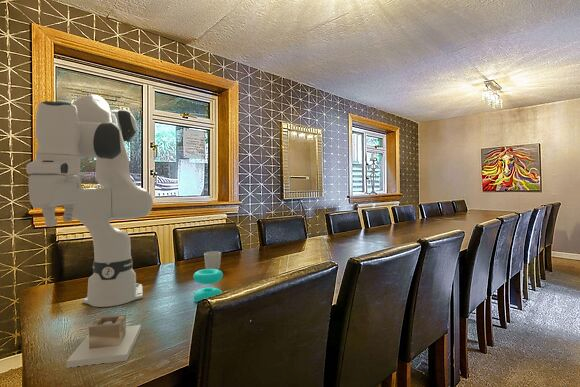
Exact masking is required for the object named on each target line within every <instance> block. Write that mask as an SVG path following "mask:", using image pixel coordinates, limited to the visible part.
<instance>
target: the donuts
mask: <svg viewBox="0 0 580 387" xmlns="http://www.w3.org/2000/svg"><path fill="white" fill-rule="evenodd" d="M223 276H224V273H223V271H222V270H221V269H206V268H204V269H199V270H197V271H196V272H194V273H193V276H192V278H193V280H194V282H196V283H198V284H202V285H212V284H215V283H218V282H220V281H221V280H222V279H223ZM222 292H223V291H222V290H221V289H220V288H219V287H212V286H210V287H203V288H199V289H197V290H196V291H195V292H194V293H193V300H194V301H195V302H196V303H197V302H198V301H199V300H201V299H204V298H207V297H211V296H214V295H217V294H220V293H222Z"/></svg>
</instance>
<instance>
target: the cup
mask: <svg viewBox="0 0 580 387" xmlns="http://www.w3.org/2000/svg"><path fill="white" fill-rule="evenodd" d="M203 257H204V267H205V268H204V269H218V270H220V267H221V259H222V252H221V251H216V250H214V251H213V250H211V251H206V252H204V253H203Z"/></svg>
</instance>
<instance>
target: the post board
mask: <svg viewBox="0 0 580 387" xmlns="http://www.w3.org/2000/svg"><path fill="white" fill-rule="evenodd" d="M111 323H112V321H107V322H104V323H103V324H111ZM141 331H142V325H141V324H136V325H135V324H134V325H126V334H125V336H124V338H123V340H122V341H121V343H120V345H119V346H110V347H101V348H92V349H89V333H88V334H87V335H86V336H85V338H84V339H83V340H82V341H81V343H80V344H79V345H78V346H77V347H76V349H75V350H74V352H73V353H71V355H69V357H68V358H67V360H66V363H65V364H66V366H65V368H66V369H69V368H70V367H72V368H77V366H80V367H84V366H83V365H88V366H92V365H91V364H96V365H102V364H101V363H105V364H112V363H120V362H127V361H128V358H129V357H130V356H131V353H132V350H133V348H134V346H135V345H136V342H137V341H138V337H139V336H140V333H141Z"/></svg>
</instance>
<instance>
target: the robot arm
mask: <svg viewBox="0 0 580 387" xmlns="http://www.w3.org/2000/svg"><path fill="white" fill-rule="evenodd" d="M35 117H36V118H35V138H36V141H37V149H36V152H35V159H33V161H31V162H29V163H27V164H26V166H25V171H26V174H29V177H28V181H27V182H28V196H29V202H30V205H31V206H32V208H33V209H34V208H35V209H41V212H42V215H43V218H44V220H45V226H46V227H48V228H49V227H50V228H51V227H55V226H57V225H58V218H57V217H56V213H55V212H56V207H61V206H63V208H64V212H63V213H64V214H63V215H62V222H64V223H65V222H66V223H69V222H72V221H73V220H74V219H75V220H77V221H78V222H80V223H81V224H83V225H84V226H85V228H86V229H87V231H89V233H90V236H91V238H92V243H93V253H94V256H93V257H94V258H93V259H94V260H93V261H92V272H93V273H92V275H90V277H88V280H87V281H88V282H87V296H86V297H85V298H83V299H82V303H83V304H86V305H87V304H88V305H90V306H91V307H94V308H95V307H97V308H99V307H101V308H106V307H115V306H119V305H123V304H127V303H130V302H132V301H136V300H139V299H143V298H144V293H143V292H144V290H143V289H144V288H143V284H141V283H139V282H138V283H137V273H136V272H135V270H134V269H133V257H132V254H131V249H132V248H131V247H132V246H131V237H130V235H129V234H128V233H127V232H125V231H124V230H122V229H118V228H116V227H114V226H112V224H111V223H110V222H111V221H112V220H131V219H134V220H135V219H138V218H143V217H147V216H148V215H149V214H150V213H151V211H152V209H153V205H154V204H153V202H154V201H153V197H152V195H151V193H150V192H149V191H148V190H147V189H144V188H142V187H140V186H139V185H137V183H135V181H133V180H132V177H131V174H130V159H129V155H128V151H127V147H126V144H125V142H126V143H128V144H129V143H130V142H131V140H132V139H133V137H134V136H135V135H136V132H137V120H136V118H135V117H134V115H133V113H132V112H131V111H129V110H127V109H118V110H110V106H109V103H108V102H107V101H106V100H105V99H104V98H103V97H101V96H99V95H96V94H88V95H87V94H86V95H83V96H81V97H78V98H77V99H76V100H75V101H73V102H72V103H70V102H66V101H65V102H62V101H51V100H50V101H49V100H46V101H45V100H44V101H42V102H39V103H38V105H37V110H36V116H35ZM81 158H96V159H95V177H94V178H95V181H96V182H97V183H98V185H100V186H101V187H88V188H83V186H82V179H81V177H80V175H82V174H81Z"/></svg>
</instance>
